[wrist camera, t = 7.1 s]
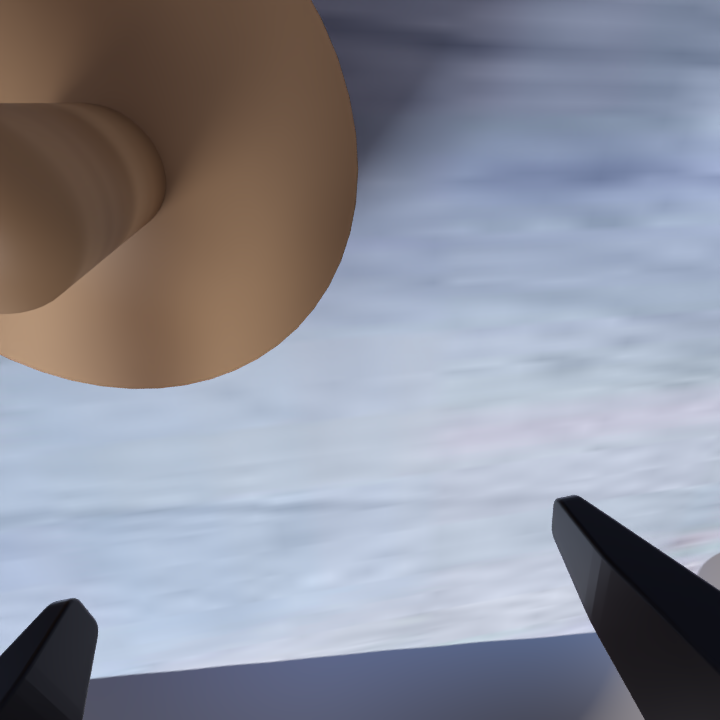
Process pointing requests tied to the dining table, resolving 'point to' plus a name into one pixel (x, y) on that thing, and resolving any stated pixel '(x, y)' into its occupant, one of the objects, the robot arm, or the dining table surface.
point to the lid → (167, 184)
